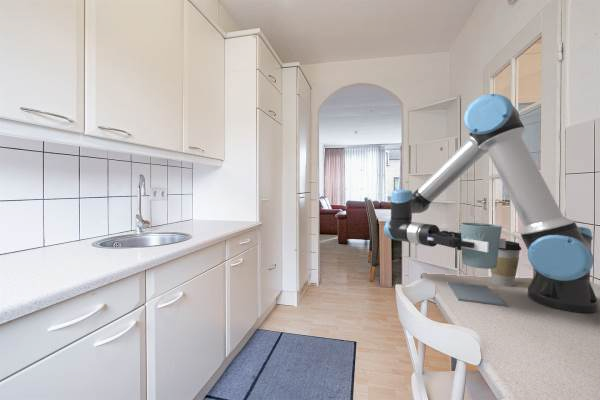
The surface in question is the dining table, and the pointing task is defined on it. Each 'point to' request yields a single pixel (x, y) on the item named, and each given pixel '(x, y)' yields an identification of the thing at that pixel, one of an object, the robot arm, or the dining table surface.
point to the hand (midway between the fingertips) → (496, 245)
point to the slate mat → (475, 293)
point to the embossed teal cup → (481, 234)
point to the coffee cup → (506, 264)
